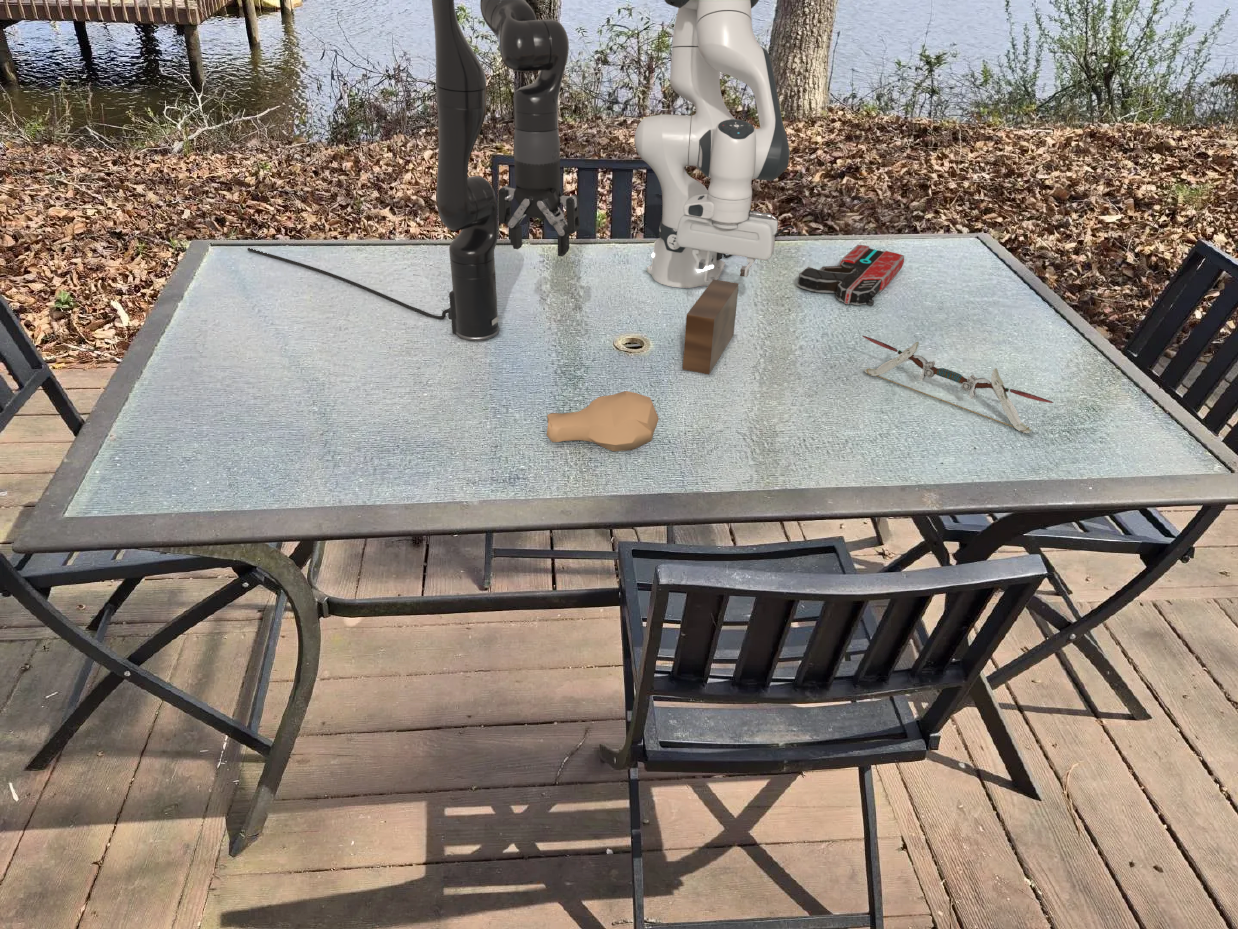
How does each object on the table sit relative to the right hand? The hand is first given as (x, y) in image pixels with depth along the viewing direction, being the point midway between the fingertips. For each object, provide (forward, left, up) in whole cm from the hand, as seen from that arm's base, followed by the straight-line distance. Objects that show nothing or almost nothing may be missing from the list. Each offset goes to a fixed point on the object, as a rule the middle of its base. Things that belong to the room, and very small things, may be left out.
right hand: (722, 272), depth 184 cm
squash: (+49, -2, -16) cm, 52 cm away
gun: (-49, +18, -16) cm, 55 cm away
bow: (+4, +49, -16) cm, 52 cm away
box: (+6, +1, -16) cm, 17 cm away
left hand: (+41, -19, +14) cm, 48 cm away
